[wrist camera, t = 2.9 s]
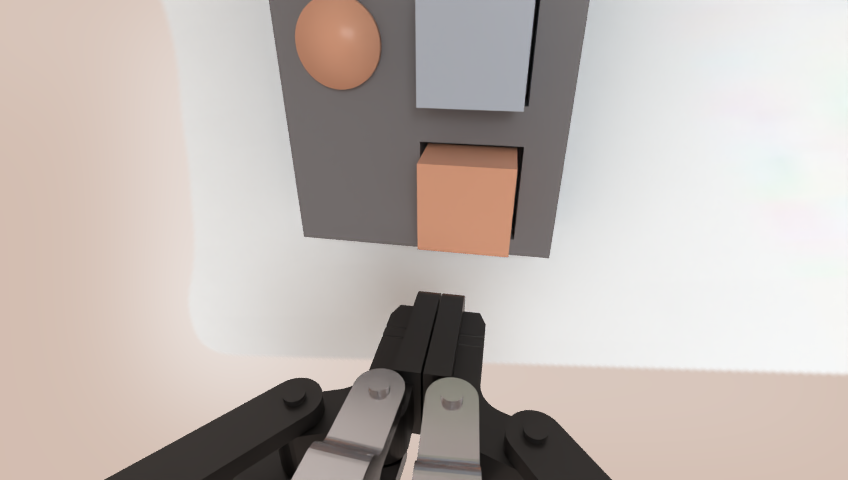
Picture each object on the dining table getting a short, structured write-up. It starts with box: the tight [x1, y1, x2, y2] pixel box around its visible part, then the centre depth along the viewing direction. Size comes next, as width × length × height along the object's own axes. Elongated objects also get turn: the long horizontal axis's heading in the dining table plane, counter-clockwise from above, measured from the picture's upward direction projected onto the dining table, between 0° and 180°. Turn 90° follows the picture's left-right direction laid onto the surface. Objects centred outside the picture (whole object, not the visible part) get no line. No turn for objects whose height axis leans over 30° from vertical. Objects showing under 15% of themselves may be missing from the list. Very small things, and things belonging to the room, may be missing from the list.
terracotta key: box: [417, 143, 518, 257], centre depth 22 cm, size 4×4×3 cm
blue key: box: [415, 0, 535, 112], centre depth 19 cm, size 4×4×3 cm
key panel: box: [269, 0, 590, 258], centre depth 21 cm, size 21×14×4 cm, turn 0°
